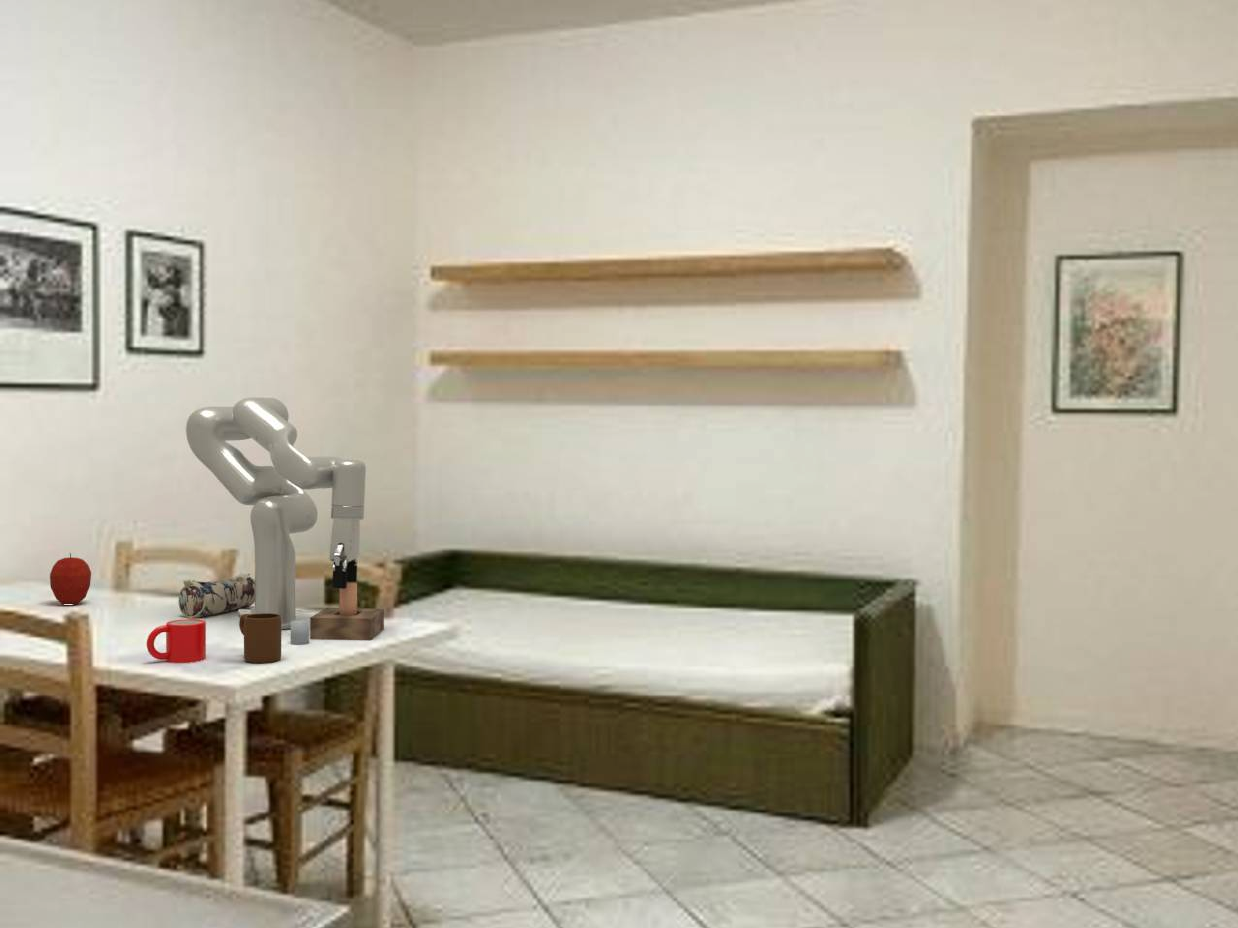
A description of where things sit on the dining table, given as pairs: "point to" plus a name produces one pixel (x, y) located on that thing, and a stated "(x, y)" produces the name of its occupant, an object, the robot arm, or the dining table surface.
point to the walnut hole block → (347, 624)
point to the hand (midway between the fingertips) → (344, 584)
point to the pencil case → (216, 596)
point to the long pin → (348, 599)
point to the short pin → (299, 632)
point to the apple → (70, 580)
